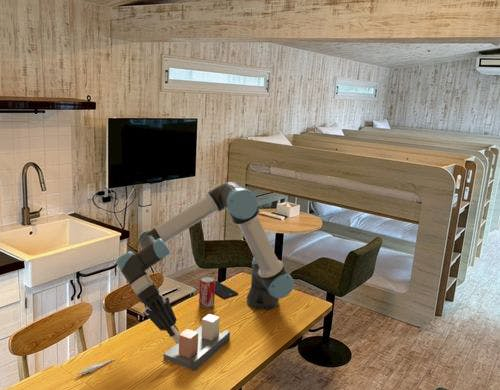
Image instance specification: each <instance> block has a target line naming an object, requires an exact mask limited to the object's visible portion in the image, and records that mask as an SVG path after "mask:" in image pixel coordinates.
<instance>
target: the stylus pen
mask: <svg viewBox="0 0 500 390" xmlns="http://www.w3.org/2000/svg"><path fill="white" fill-rule="evenodd" d="M115 359H116V358H113V359H110V360H106V361H103V362H100V363H97V364H91V365H88V366H87V367H85V368H84V369H82V370H81V371H79V372H77V373H76V374H77V375H78V376H79V375H80V374H82V373H83V374H84V373H88V372H89V373H90V372H92V373H94V372H95V371H96V370H98V368H99V369H101V368H102V367H101V366H103V367H105V366H106V365H105V364H107V363H109V362H110V363H112V362H113V360H114V361H116V360H115ZM111 361H112V362H111ZM110 363H109V364H110ZM104 365H105V366H104ZM107 365H108V364H107ZM100 367H101V368H100ZM93 371H94V372H93ZM89 373H88V374H89ZM84 375H85V374H84Z"/></svg>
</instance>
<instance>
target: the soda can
mask: <svg viewBox="0 0 500 390" xmlns="http://www.w3.org/2000/svg"><path fill="white" fill-rule="evenodd" d="M215 281H216V280H215V278H214V277H213V276H209V275H206V276H202V277H201V278H200V281H199V290H198V291H199V292H198V294H199V295H198V305H199V306H200V307H202V308H203V309H208V308H209V309H210V308H212V307H213V306H214V305H215V295H216V294H215Z"/></svg>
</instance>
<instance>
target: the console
mask: <svg viewBox="0 0 500 390" xmlns="http://www.w3.org/2000/svg"><path fill="white" fill-rule="evenodd" d="M194 331H195V332H198V352H197V353H196V354H195V355H194V356H192V357H191V358H187V357H184V356H182V355H179V343H178V344H176V343H175V345H174V346H172V347H171V348H169V349H168V350H167V351H166V352H164V353H163V360H166V361H168V362H170V363H172V364H175V365H178V366H181V367H183V368H185V369H188V370H191V371H193V372H196V371H198V369H200V367H202V366H203V365H204V364H205V363H207V362H208V361H209V360H210V359H211V358H212V357H213V356H215V354H216V353H217V352H218V351H220V350H221V349H222V348H223V347H224V346H225V345H226V344H227V343H229V341H230V340H231V331H229V330H227V329H225V330H224V331H223V332H220V331H219V336H218V337H217V338H215V339H214V340H213V341H210V340H207V339H205V338H202V325H200V326H198V327H197V328H196V329H195V330H194Z"/></svg>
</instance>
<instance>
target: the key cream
mask: <svg viewBox="0 0 500 390" xmlns="http://www.w3.org/2000/svg"><path fill="white" fill-rule="evenodd" d="M220 318H221V317H220V316H217V315H215V314H211V313H208V314H206V316H204V317H203V318H201V326H202V338H205V339H207V340H210V341H213V340H214V339H215V338H217V337H218V336H219V332H220V320H221V319H220Z"/></svg>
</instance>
